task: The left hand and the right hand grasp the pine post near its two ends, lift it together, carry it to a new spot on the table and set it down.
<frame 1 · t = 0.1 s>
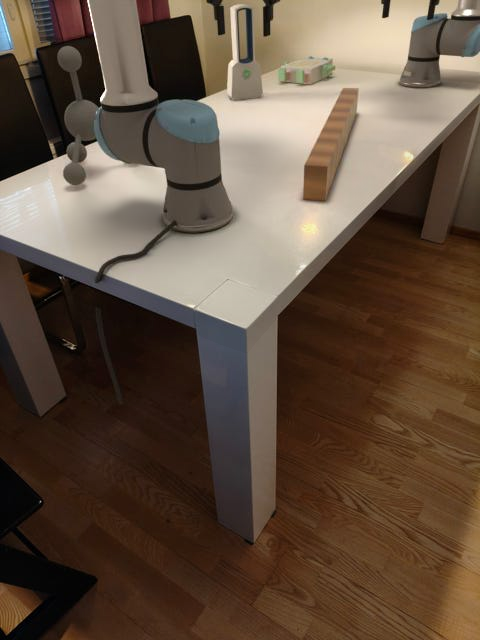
left hand: (243, 35, 129), 28 cm above the table, tool pointing down, fingers open, 13 cm apart
right hand: (407, 18, 139), 28 cm above the table, tool pointing down, fingers open, 13 cm apart
electronic device: (244, 97, 189), on the table
grenade: (145, 131, 160), on the table
post: (334, 148, 138), on the table
molecular model: (104, 169, 134), on the table
decorative block: (305, 78, 208), on the table
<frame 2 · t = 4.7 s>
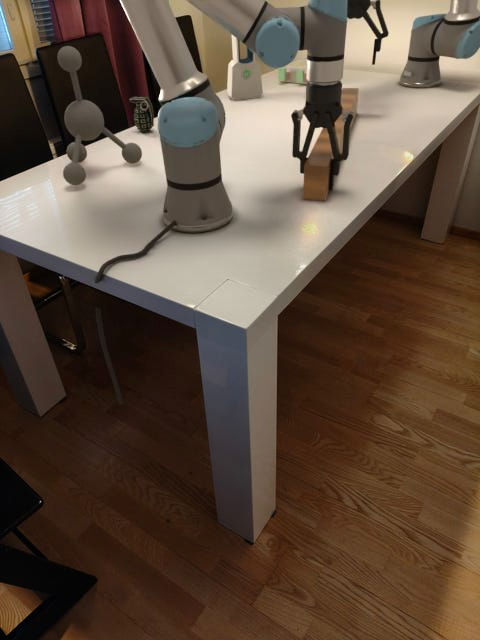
left hand: (318, 187, 116), 1 cm above the table, tool pointing down, fingers closed on post, 5 cm apart
right hand: (350, 63, 150), 16 cm above the table, tool pointing down, fingers open, 13 cm apart
post: (334, 148, 138), on the table, touching left hand
everything else where it was.
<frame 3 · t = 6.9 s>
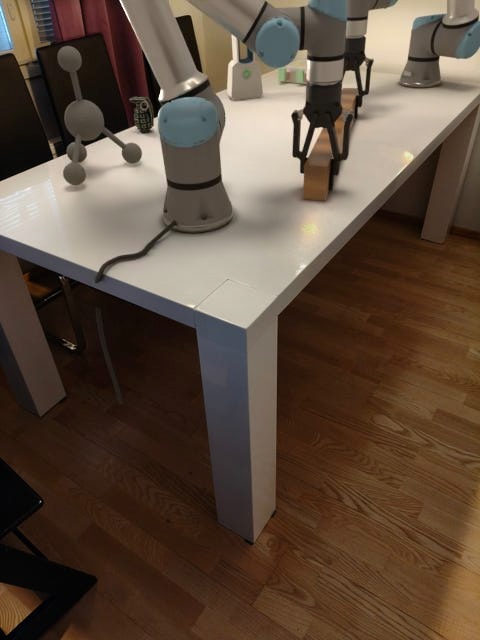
left hand: (318, 187, 116), 1 cm above the table, tool pointing down, fingers closed on post, 5 cm apart
right hand: (346, 117, 159), 1 cm above the table, tool pointing down, fingers closed on post, 5 cm apart
post: (334, 148, 138), on the table, touching left hand, right hand
everything else where it was.
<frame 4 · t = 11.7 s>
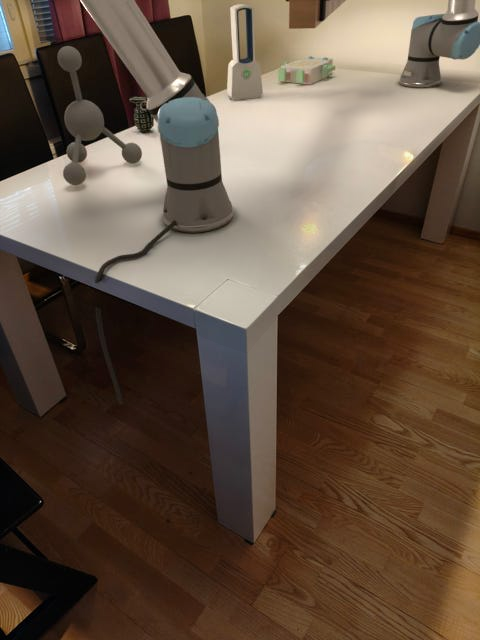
left hand: (307, 20, 98), 34 cm above the table, tool pointing down, fingers closed on post, 5 cm apart
post: (328, 7, 120), point 34 cm above the table, touching left hand, right hand
everything else where it was.
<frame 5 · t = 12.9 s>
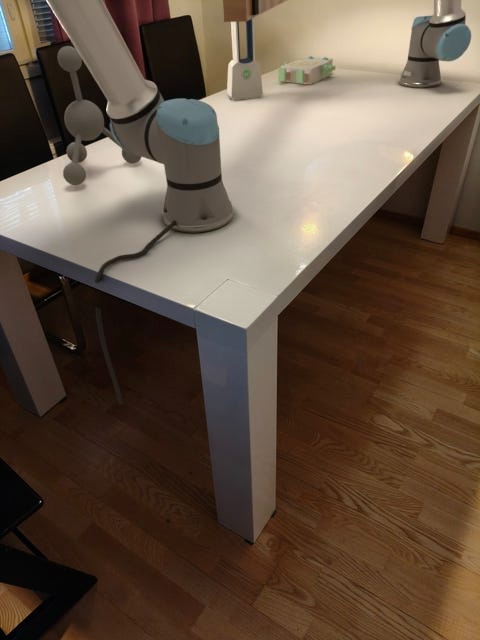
left hand: (242, 14, 110), 35 cm above the table, tool pointing down, fingers closed on post, 5 cm apart
post: (272, 3, 132), point 34 cm above the table, touching left hand, right hand
everything else where it was.
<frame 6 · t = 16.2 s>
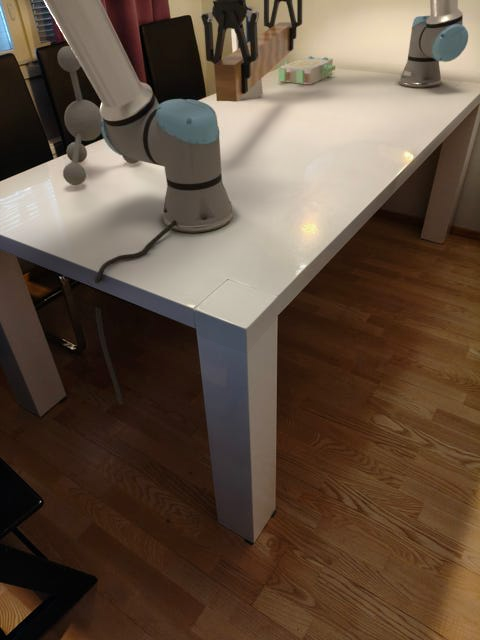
left hand: (233, 92, 123), 18 cm above the table, tool pointing down, fingers closed on post, 5 cm apart
right hand: (282, 49, 167), 18 cm above the table, tool pointing down, fingers closed on post, 5 cm apart
post: (261, 70, 145), point 17 cm above the table, touching left hand, right hand
everything else where it was.
when the left hand's fingers open (2 cm above the table, at t = 18.9 s): post drops 2 cm, on the table.
when the right hand's fingers open (2 cm above the table, at t = 18.9 s): post drops 2 cm, on the table.
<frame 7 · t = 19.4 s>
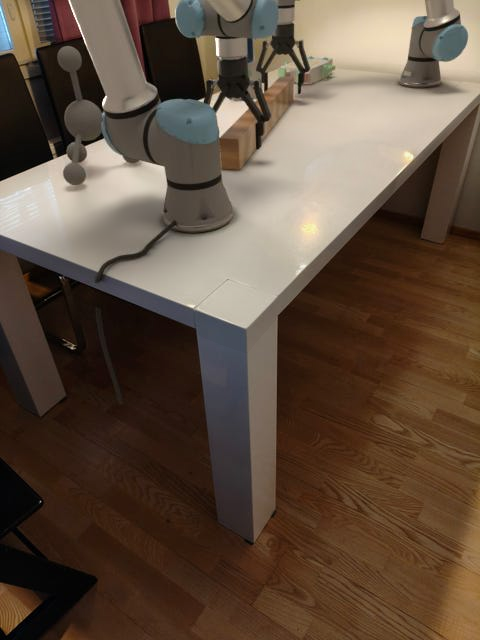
left hand: (236, 146, 132), 4 cm above the table, tool pointing down, fingers open, 11 cm apart
right hand: (282, 93, 175), 4 cm above the table, tool pointing down, fingers open, 11 cm apart
post: (263, 129, 156), on the table
everything else where it was.
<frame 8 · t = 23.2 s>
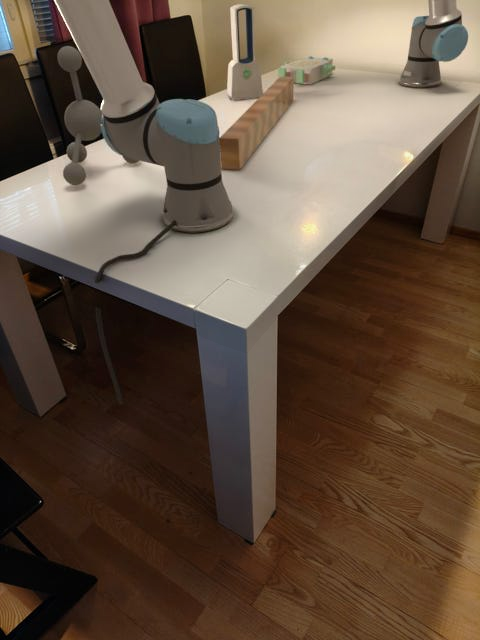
nothing on the table moved.
at the end: post inside the target area (0.1 cm from its centre), on the table; post tilted 0°; post never tilted more than 1° during the clip; both hands held the post at the same time; the left hand is holding nothing; the right hand is holding nothing; post at rest at the end (0.0 cm/s) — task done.
